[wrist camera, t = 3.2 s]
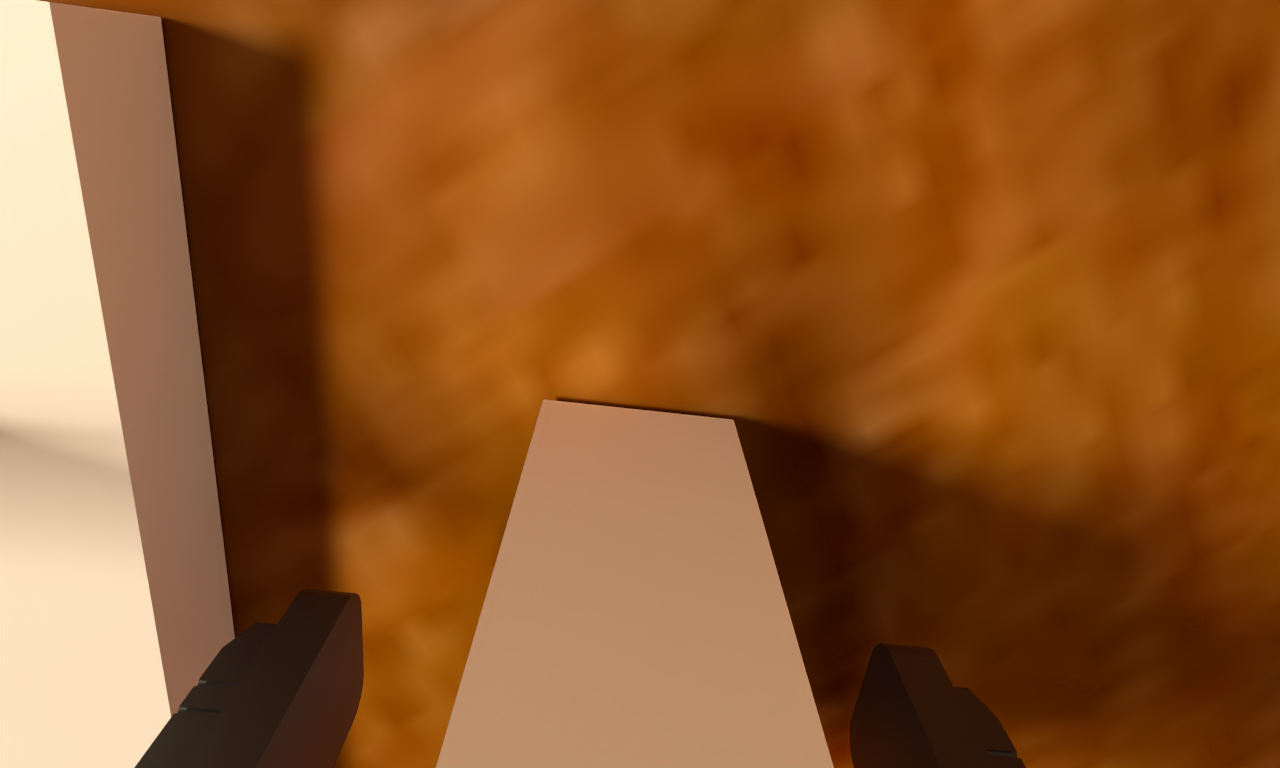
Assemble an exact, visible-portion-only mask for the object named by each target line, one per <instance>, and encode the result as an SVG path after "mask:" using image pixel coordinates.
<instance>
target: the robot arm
mask: <svg viewBox="0 0 1280 768" xmlns="http://www.w3.org/2000/svg"><path fill="white" fill-rule="evenodd" d="M362 686H363V643H362V614H361V600H360V597H359V595H358V594H356V593H346V592H335V591H325V590H314V589H303V590H302V591H301V592H300V593H299V594H298V595H297V596H296V598H295V599H294V601H293V602H292V604H291V605H290V607H289V608H288V610H287V611H286V613H285V614H284V616H283V617H282V619H281V620H280V622H279V623H278V624H267V623H255V624H254V625H253V626H251V627H250V628H248V629H247V630H246V631H244V632H243V633H242V634H240V635H239V636H238V637H236V638H235V639H233V640H232V641H231V642H229V643H228V644H227V645H225V646H224V647H222V648H221V650H220V651H219V653H218V654H217V655H216V657H215V658H214V659H213V661H212V662H211V663H210V665H209V666H208V668H207V669H206V670H205V672H204V673H203V674H202V676H201V677H200V679H199V682H198V685H197V686H194V687H193V688H192V689H191V691H190V692H189V694H188V695H187V696H186V698H185V699H184V700H183V702H182V703H181V704H180V706H179V711H178V713H174V714H173V715H172V717H171V718H170V720H169V721H168V722H167V724H166V725H165V726H164V728H163V729H162V730H161V732H160V733H159V735H158V736H157V737H156V739H155V740H154V741H153V743H152V744H151V746H150V747H149V748H148V750H147V751H146V752H145V754H144V755H143V756H142V758H141V759H140V761H139V762H138V763H137V765H136V766H135V767H134V768H333V766H334V764H335V762H336V759H337V757H338V755H339V753H340V750H341V748H342V746H343V744H344V741H345V739H346V737H347V734H348V732H349V730H350V728H351V725H352V723H353V721H354V718H355V715H356V713H357V709H358V706H359V702H360V697H361V693H362ZM850 749H851V756H852V761H853V765H854V768H1026V767H1025V765H1024V764H1023V762H1022V760H1021V759H1019V758H1017V754H1016V753H1017V751H1016V750H1015V748H1014V746H1013V744H1012V742H1011V741H1010V739H1009V737H1008V735H1007V734H1006V732H1005V730H1004V728H1003V727H1002V725H1001V723H1000V721H999V719H998V718H997V717H996V716H995V715H994V714H993V713H992V712H991V711H990V710H989V709H988V708H987V707H986V706H985V705H984V704H983V703H982V702H981V701H980V700H979V699H978V698H977V697H976V696H975V695H974V694H973V693H972V692H971V691H970V690H969V689H968V688H960V687H953V685H952V683H951V681H950V680H949V678H948V676H947V674H946V672H945V670H944V668H943V666H942V664H941V662H940V660H939V658H938V657H937V655H936V654H935V652H934V651H933V650H931V649H930V648H924V647H914V646H903V645H892V644H878V645H876V647H875V648H874V650H873V652H872V654H871V657H870V661H869V664H868V667H867V670H866V674H865V677H864V680H863V683H862V687H861V690H860V693H859V696H858V700H857V703H856V706H855V709H854V713H853V716H852V720H851V726H850Z"/></svg>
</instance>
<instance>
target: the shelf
mask: <svg viewBox="0 0 1280 768" xmlns="http://www.w3.org/2000/svg"><path fill="white" fill-rule="evenodd" d="M233 639H235V635H234V627H233V618H232V610H231V601H230V593H229V585H228V576H227V568H226V559H225V551H224V543H223V534H222V526H221V517H220V509H219V501H218V492H217V484H216V476H215V467H214V459H213V450H212V442H211V434H210V425H209V417H208V408H207V400H206V392H205V383H204V375H203V366H202V358H201V350H200V341H199V333H198V325H197V316H196V308H195V299H194V291H193V283H192V274H191V266H190V257H189V249H188V241H187V232H186V224H185V215H184V207H183V199H182V190H181V182H180V174H179V165H178V157H177V148H176V140H175V132H174V123H173V115H172V106H171V98H170V90H169V81H168V73H167V64H166V56H165V48H164V39H163V31H162V23H161V17H158V16H150V15H143V14H135V13H128V12H120V11H113V10H105V9H98V8H90V7H83V6H75V5H68V4H60V3H53V2H45V1H37V0H0V768H134V767H135V766H136V765H137V763H138V762H139V761H140V759H141V758H142V756H143V755H144V754H145V752H146V751H147V750H148V748H149V747H150V746H151V744H152V743H153V741H154V740H155V739H156V737H157V736H158V735H159V733H160V732H161V730H162V729H163V728H164V726H165V725H166V724H167V722H168V721H169V720H170V718H171V717H172V715H173V714H174V713H178V711H179V706H180V704H181V703H182V702H183V700H184V699H185V698H186V696H187V695H188V694H189V692H190V691H191V689H192V688H193V687H194V686H197V685H198V682H199V679H200V677H201V676H202V674H203V673H204V672H205V670H206V669H207V668H208V666H209V665H210V663H211V662H212V661H213V659H214V658H215V657H216V655H217V654H218V653H219V651H220V650H221V648H222V647H224V646H225V645H227V644H228V643H229V642H231V641H232V640H233Z"/></svg>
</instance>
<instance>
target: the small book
mask: <svg viewBox="0 0 1280 768" xmlns="http://www.w3.org/2000/svg"><path fill="white" fill-rule="evenodd" d="M436 768H834V767H833V764H832V760H831V757H830V753H829V750H828V746H827V743H826V739H825V736H824V732H823V729H822V725H821V722H820V718H819V715H818V711H817V708H816V704H815V701H814V698H813V694H812V691H811V687H810V684H809V680H808V677H807V673H806V670H805V666H804V663H803V659H802V656H801V652H800V649H799V645H798V642H797V638H796V635H795V631H794V628H793V624H792V621H791V618H790V614H789V611H788V607H787V604H786V600H785V597H784V593H783V590H782V586H781V583H780V579H779V576H778V572H777V569H776V565H775V562H774V558H773V555H772V551H771V548H770V544H769V541H768V537H767V534H766V531H765V527H764V524H763V520H762V517H761V513H760V510H759V506H758V503H757V499H756V496H755V492H754V489H753V485H752V482H751V478H750V475H749V471H748V468H747V464H746V461H745V457H744V454H743V451H742V447H741V444H740V440H739V437H738V433H737V430H736V426H735V423H734V420H732V419H723V418H714V417H704V416H695V415H685V414H676V413H667V412H657V411H648V410H638V409H629V408H620V407H610V406H601V405H592V404H582V403H573V402H563V401H554V400H545V399H543V402H542V405H541V409H540V412H539V416H538V419H537V423H536V426H535V429H534V433H533V436H532V440H531V443H530V447H529V450H528V453H527V457H526V460H525V464H524V467H523V471H522V474H521V477H520V481H519V484H518V488H517V491H516V495H515V498H514V501H513V505H512V508H511V512H510V515H509V519H508V522H507V525H506V529H505V532H504V536H503V539H502V543H501V546H500V549H499V553H498V556H497V560H496V563H495V567H494V570H493V574H492V577H491V580H490V584H489V587H488V591H487V594H486V598H485V601H484V604H483V608H482V611H481V615H480V618H479V622H478V625H477V628H476V632H475V635H474V639H473V642H472V646H471V649H470V652H469V656H468V659H467V663H466V666H465V670H464V673H463V676H462V680H461V683H460V687H459V690H458V694H457V697H456V701H455V704H454V707H453V711H452V714H451V718H450V721H449V725H448V728H447V731H446V735H445V738H444V742H443V745H442V749H441V752H440V755H439V759H438V762H437V766H436Z"/></svg>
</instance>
